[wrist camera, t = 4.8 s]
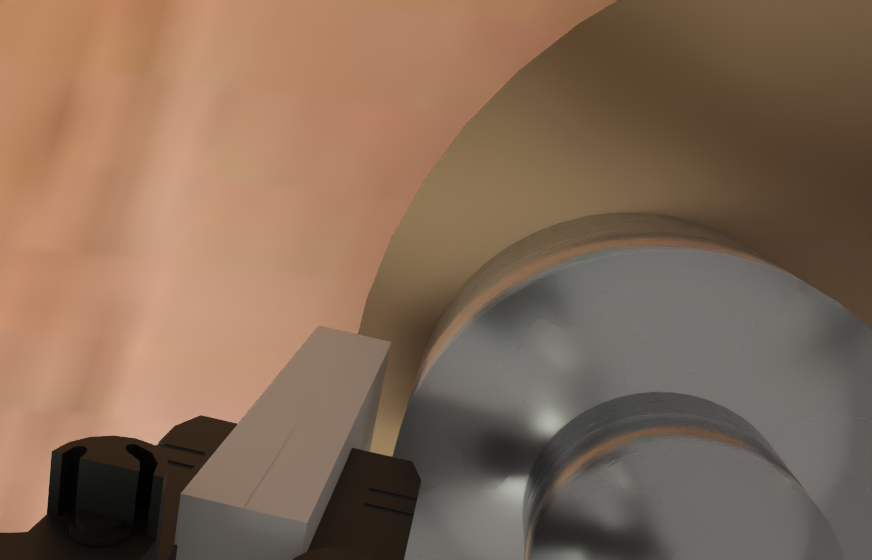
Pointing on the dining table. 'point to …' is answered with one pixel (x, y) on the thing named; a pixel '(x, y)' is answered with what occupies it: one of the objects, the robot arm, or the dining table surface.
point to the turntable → (651, 156)
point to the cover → (640, 405)
